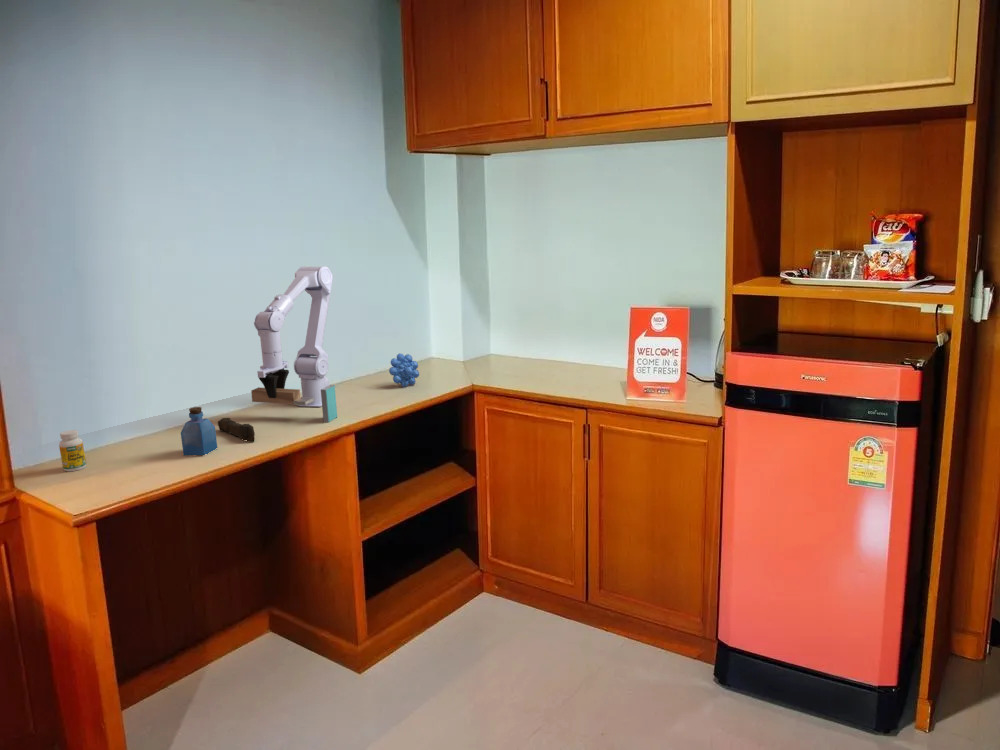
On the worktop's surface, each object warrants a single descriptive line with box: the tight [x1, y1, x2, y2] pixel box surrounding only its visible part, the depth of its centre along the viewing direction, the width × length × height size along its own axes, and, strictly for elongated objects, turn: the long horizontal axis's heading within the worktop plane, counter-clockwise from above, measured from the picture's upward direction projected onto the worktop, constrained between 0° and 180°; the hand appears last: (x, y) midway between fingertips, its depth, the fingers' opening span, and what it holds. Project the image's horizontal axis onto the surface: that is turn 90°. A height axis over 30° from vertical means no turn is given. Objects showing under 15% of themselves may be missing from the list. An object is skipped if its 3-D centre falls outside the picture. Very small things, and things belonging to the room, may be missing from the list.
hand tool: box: [217, 417, 256, 443], centre depth 232 cm, size 19×4×5 cm, turn 39°
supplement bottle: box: [58, 429, 87, 472], centre depth 208 cm, size 5×5×10 cm
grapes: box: [388, 353, 420, 388], centre depth 281 cm, size 12×7×12 cm, turn 128°
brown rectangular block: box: [250, 387, 313, 406], centre depth 248 cm, size 5×18×4 cm, turn 75°
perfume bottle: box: [180, 406, 218, 456], centre depth 217 cm, size 6×6×12 cm
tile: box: [321, 384, 338, 424], centre depth 244 cm, size 6×2×10 cm, turn 165°
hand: (276, 395), depth 248 cm, fingers closed on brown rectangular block, 4 cm apart
